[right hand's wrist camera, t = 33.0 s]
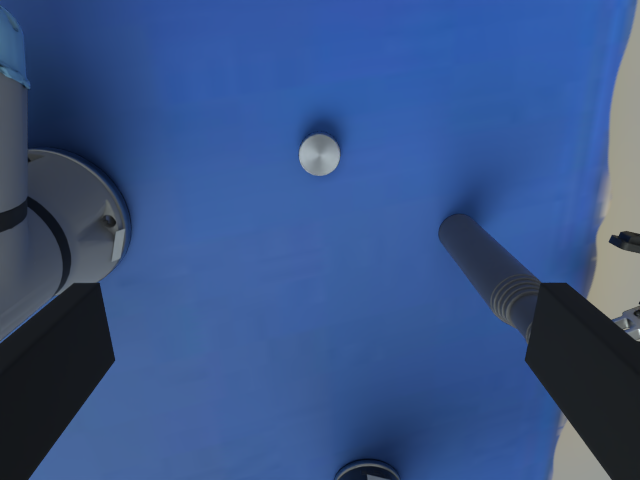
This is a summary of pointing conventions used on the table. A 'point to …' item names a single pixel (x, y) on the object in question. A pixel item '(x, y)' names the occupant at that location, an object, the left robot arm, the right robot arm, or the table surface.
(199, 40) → the table surface
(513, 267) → the dark grey long cylinder
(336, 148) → the cap
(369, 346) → the table surface
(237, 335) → the table surface
